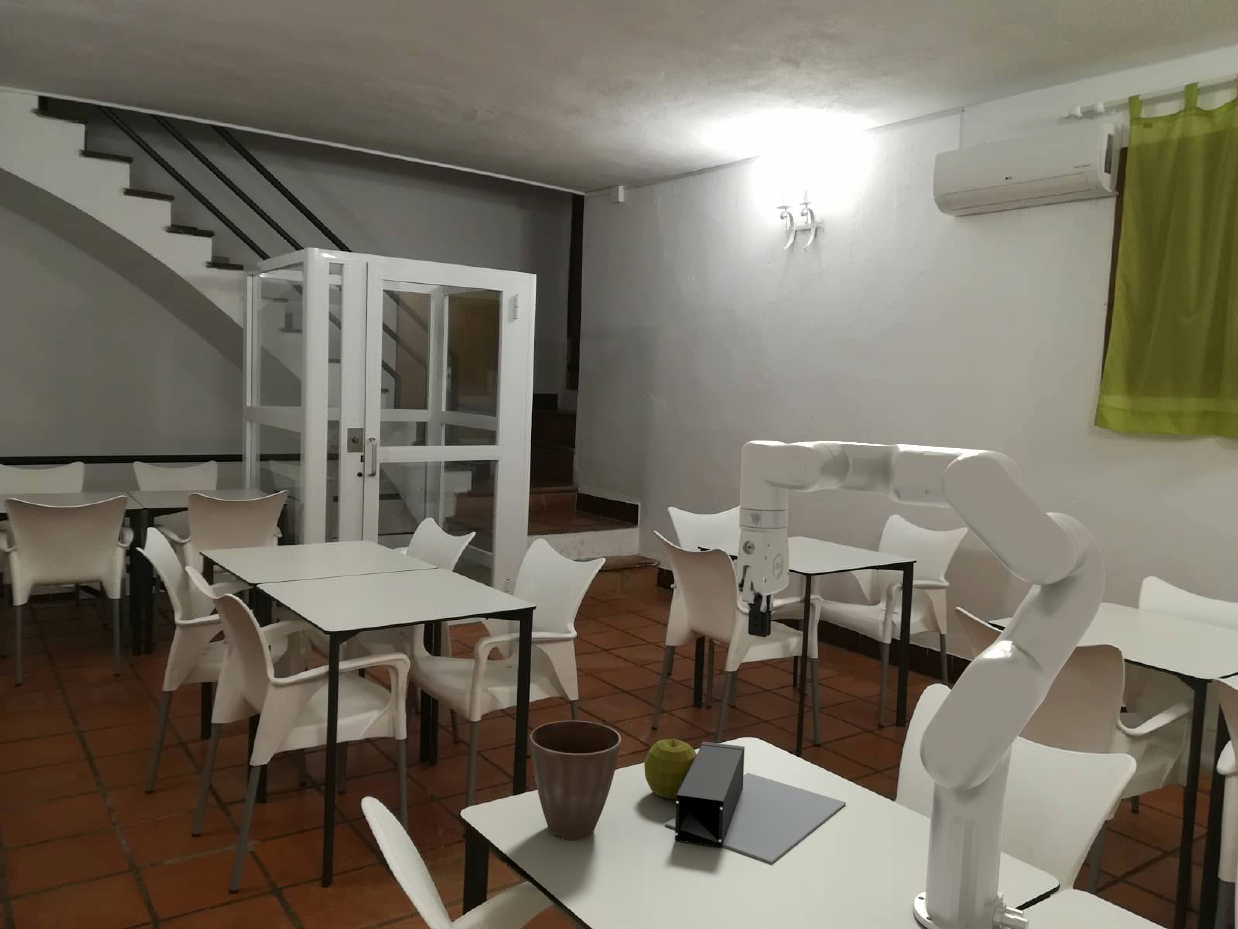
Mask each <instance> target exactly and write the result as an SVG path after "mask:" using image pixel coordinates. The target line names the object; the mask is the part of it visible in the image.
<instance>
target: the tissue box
mask: <svg viewBox="0 0 1238 929" xmlns="http://www.w3.org/2000/svg"><path fill="white" fill-rule="evenodd" d="M745 748H746V747H745V746H743V745H742V746H741V745H734V744H726V743H717V742H711V741H709V742H708V741H702V743H701V744H700V747H699V749H698V751H697V752H696V754H697V755H696V757H695V759H694V761H693V763H692V765H691V767H690V769H689V771H688V773H687V775H686V777H685V779H684V781H683V783H682V785H681V787H680V789H679V791H678V793H677V795H676V799H675V817H676V821H675V829H674V832H675V833H674V841H677V842H684V843H690V844H695V845H696V844H697V845H704V846H711V847H717V848H722V847H723V842H724V840H725V837H726V834H727V831H728V828H729V825H730V822H731V820H732V817H733V814H734V811H735V808H736V805H737V802H738V799H739V797H740V794H741V791H742V789H743V775H745V773H744V771H745V770H744V769H745V767H744V766H745ZM688 811H689V812H690V813H691V814H692V815H693V816H694V817H695V818H696V819H697V820H698V821H699V822H700V823H701V824H702V825H703V826H704V827H705V828H706V829H707V830H708V831H709V832H710V833H711V834H712V835H713V836H714V837H715V838H716V839H717V840H718V842H716V841H713V840H710V839H707V838H704V837H701V836H698V835H696V834H693V833H690V832H687V831H684V830H681V829H680V828H681V826H682V824H683V822H684V819H685V817H686V815H687V813H688Z"/></svg>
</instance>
